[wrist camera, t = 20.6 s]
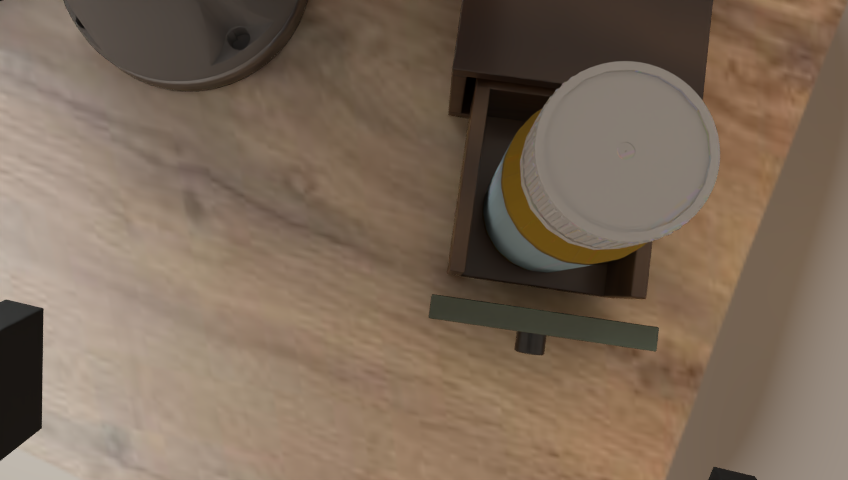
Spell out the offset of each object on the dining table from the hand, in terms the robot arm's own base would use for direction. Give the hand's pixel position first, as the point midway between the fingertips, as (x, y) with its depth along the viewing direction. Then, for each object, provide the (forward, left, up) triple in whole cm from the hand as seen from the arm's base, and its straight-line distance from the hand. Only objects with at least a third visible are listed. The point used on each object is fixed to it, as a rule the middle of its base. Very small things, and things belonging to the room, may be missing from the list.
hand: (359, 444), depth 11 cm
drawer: (+7, +8, -23) cm, 25 cm away
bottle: (+7, +9, -22) cm, 25 cm away
